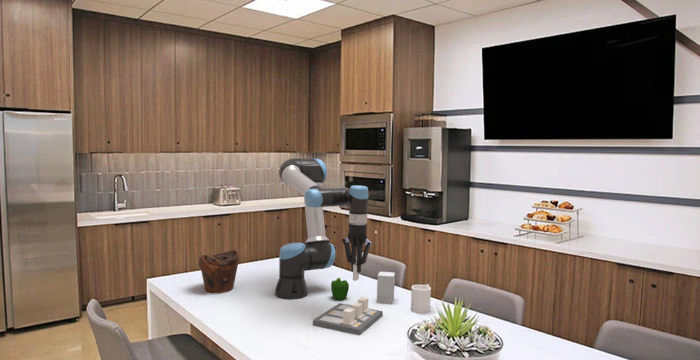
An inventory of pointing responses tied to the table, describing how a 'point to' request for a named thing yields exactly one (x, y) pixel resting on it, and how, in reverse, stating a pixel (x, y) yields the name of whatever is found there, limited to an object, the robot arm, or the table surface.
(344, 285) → the bell pepper
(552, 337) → the table surface
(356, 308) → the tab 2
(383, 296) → the supplement box
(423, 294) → the cup
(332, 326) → the switch bank
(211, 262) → the chocolate chip muffin
